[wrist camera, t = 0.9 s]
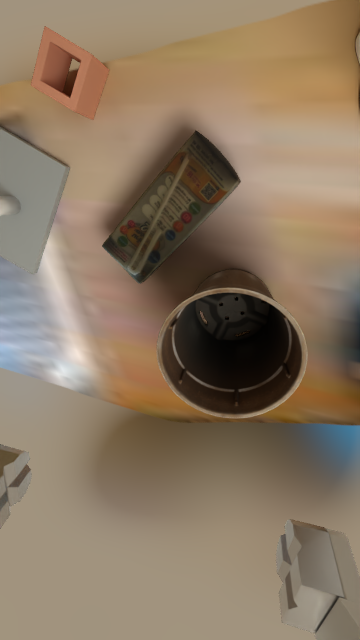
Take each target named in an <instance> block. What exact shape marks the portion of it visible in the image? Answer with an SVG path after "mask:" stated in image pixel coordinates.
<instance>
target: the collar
mask: <svg viewBox="0 0 360 640" xmlns="http://www.w3.org/2000/svg"><path fill="white" fill-rule="evenodd" d="M72 58H73V59H75V60H76V61H78V62H80V66H79V70H78V73H77V77H76V80H75V84H74V87H73V90H72V94H71V97H70V96H68V95H66V94H65V93H63V89H64V86H65V82H66V79H67V75H68V72H69V68H70V64H71V61H72ZM108 73H109V69H108V68H107V67H106V66H104V65H103V64H102V63H101V62H100V61H99V60H98V59H97V58H95V57H94V56H93V55H92V54H90V53H89V52H87V51H85V50H84V49H82V48H80V47H79V46H77V45H75V44H74V43H72V42H70V41H69V40H67V39H65V38H64V37H62V36H61V35H59V34H57V33H56V32H54V31H52V30H50V29H49V28H47V27H46V26H45V28H44V31H43V35H42V40H41V44H40V48H39V52H38V57H37V61H36V65H35V69H34V74H33V78H32V82H31V86H33V87H34V88H36V89H38V90H39V91H41V92H43V93H44V94H46V95H48V96H49V97H51V98H53V99H54V100H56V101H58V102H59V103H61V104H63V105H64V106H66V107H68V108H70V109H71V110H73V111H75V112H77V113H79V114H81V115H83V116H85V117H88V118H90V119H92V120H93V119H94V116H95V113H96V110H97V107H98V104H99V101H100V98H101V95H102V92H103V88H104V85H105V82H106V79H107V76H108Z"/></svg>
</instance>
